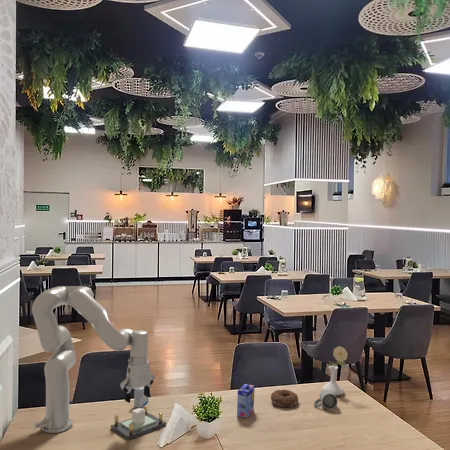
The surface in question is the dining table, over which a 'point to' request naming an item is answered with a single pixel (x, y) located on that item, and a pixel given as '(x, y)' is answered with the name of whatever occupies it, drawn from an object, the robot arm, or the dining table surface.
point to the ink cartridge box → (245, 400)
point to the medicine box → (140, 397)
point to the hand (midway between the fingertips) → (137, 398)
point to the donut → (284, 398)
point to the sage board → (135, 427)
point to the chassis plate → (132, 434)
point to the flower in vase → (333, 385)
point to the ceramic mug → (327, 400)
